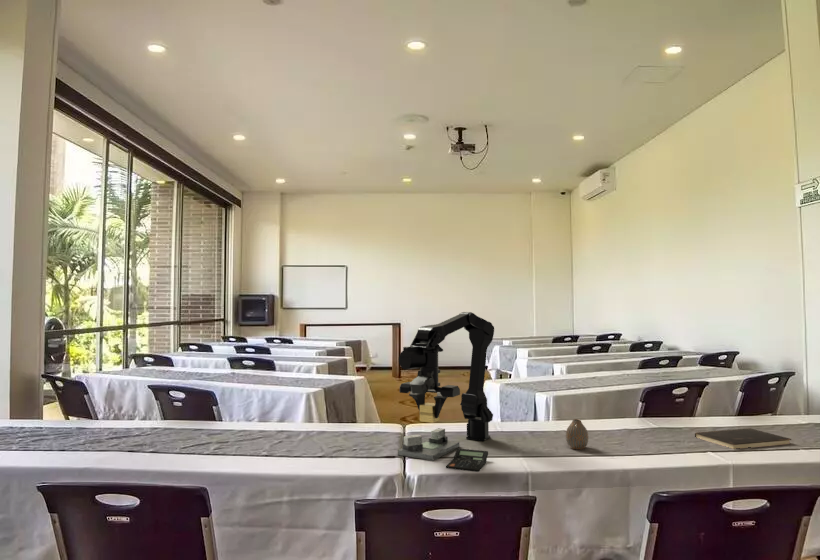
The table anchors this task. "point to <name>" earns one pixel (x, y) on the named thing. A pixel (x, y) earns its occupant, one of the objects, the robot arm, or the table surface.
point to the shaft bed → (427, 445)
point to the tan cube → (428, 413)
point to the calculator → (468, 460)
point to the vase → (577, 435)
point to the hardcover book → (742, 438)
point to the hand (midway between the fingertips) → (429, 417)
